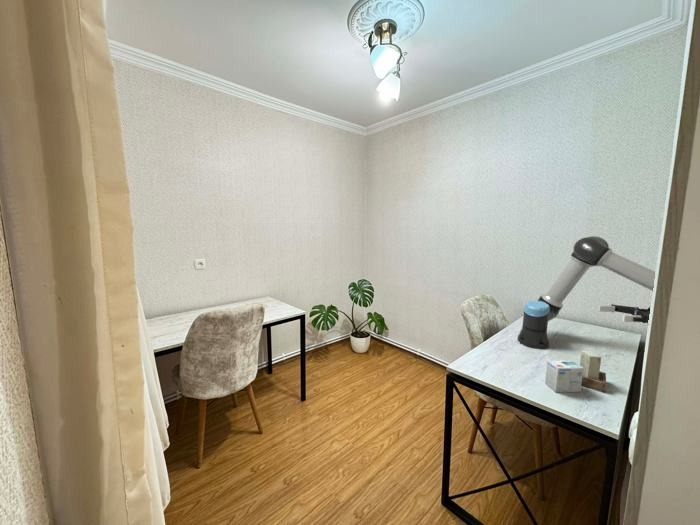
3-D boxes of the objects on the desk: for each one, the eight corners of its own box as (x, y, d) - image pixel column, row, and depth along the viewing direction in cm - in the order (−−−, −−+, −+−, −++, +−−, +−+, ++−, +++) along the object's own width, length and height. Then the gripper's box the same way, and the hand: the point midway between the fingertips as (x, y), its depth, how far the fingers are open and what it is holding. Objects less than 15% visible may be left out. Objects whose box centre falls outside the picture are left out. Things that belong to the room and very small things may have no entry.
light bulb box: (568, 383, 122) (571, 359, 120) (581, 392, 115) (584, 367, 113) (543, 383, 121) (546, 359, 120) (555, 392, 115) (558, 368, 113)
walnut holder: (570, 382, 122) (571, 374, 121) (572, 372, 130) (573, 364, 129) (604, 392, 115) (606, 383, 114) (604, 381, 123) (605, 372, 122)
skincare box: (598, 384, 119) (602, 357, 117) (586, 383, 120) (590, 356, 118) (588, 376, 125) (592, 350, 123) (577, 375, 126) (581, 349, 124)
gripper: (692, 334, 113) (634, 332, 115) (636, 313, 138) (589, 312, 140) (695, 316, 112) (637, 314, 114) (638, 298, 137) (591, 297, 139)
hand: (610, 313), depth 127 cm, fingers open, 13 cm apart
